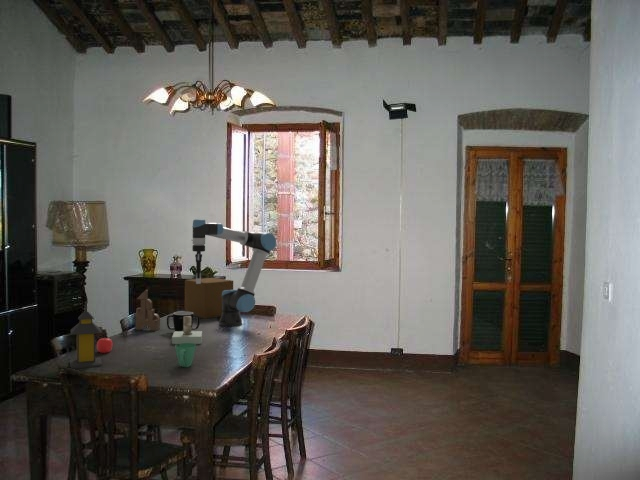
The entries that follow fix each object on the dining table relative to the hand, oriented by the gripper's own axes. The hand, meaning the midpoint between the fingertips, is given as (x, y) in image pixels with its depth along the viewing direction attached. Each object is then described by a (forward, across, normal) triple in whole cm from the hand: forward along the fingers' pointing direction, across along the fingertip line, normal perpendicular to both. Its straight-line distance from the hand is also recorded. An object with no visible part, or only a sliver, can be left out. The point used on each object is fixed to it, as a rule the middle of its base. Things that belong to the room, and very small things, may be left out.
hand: (198, 283), depth 366 cm
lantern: (+31, +71, -50) cm, 92 cm away
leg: (+30, +22, -5) cm, 38 cm away
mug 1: (+31, -3, -9) cm, 32 cm away
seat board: (+30, +22, -5) cm, 38 cm away
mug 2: (+31, +81, -3) cm, 87 cm away
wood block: (+31, -68, +5) cm, 75 cm away
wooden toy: (+31, -15, -32) cm, 47 cm away
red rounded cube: (+31, +46, -46) cm, 72 cm away
